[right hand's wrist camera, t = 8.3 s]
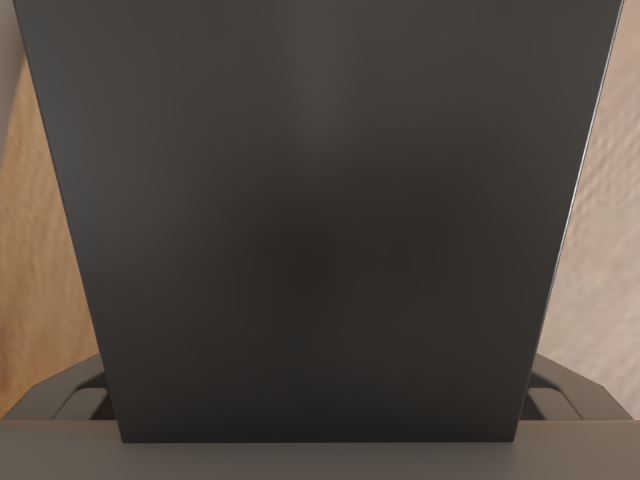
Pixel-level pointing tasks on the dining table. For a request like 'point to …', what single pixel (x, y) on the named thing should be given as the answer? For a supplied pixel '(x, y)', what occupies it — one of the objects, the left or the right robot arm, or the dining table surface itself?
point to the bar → (318, 205)
